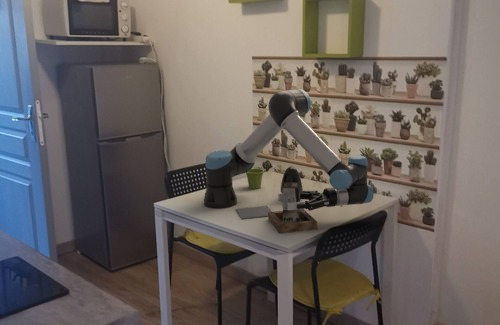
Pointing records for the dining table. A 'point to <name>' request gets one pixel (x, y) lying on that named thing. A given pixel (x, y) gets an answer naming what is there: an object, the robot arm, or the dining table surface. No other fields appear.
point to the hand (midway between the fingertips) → (282, 201)
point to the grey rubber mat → (253, 212)
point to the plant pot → (254, 178)
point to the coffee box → (291, 201)
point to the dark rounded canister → (291, 177)
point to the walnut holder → (307, 222)
